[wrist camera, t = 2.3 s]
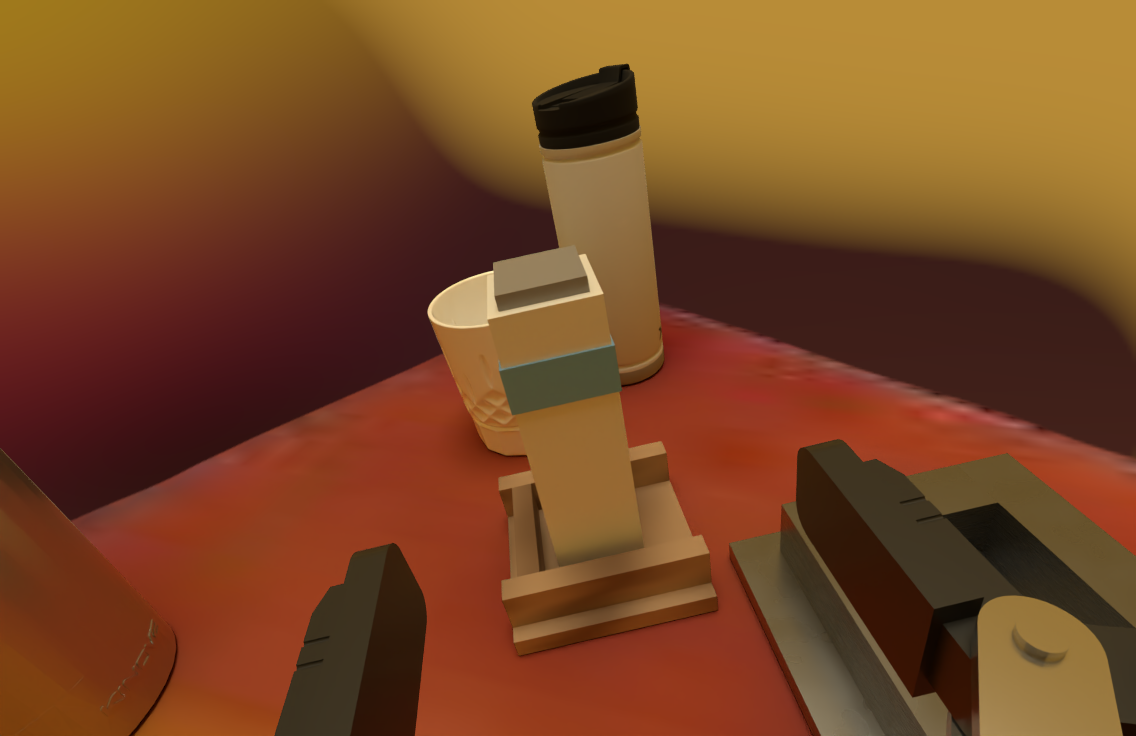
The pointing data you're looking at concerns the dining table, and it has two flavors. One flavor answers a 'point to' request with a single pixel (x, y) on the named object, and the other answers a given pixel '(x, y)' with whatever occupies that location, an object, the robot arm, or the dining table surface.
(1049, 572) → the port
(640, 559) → the wooden square tray
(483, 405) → the white cup
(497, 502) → the dining table surface
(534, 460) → the plug
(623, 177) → the travel mug
